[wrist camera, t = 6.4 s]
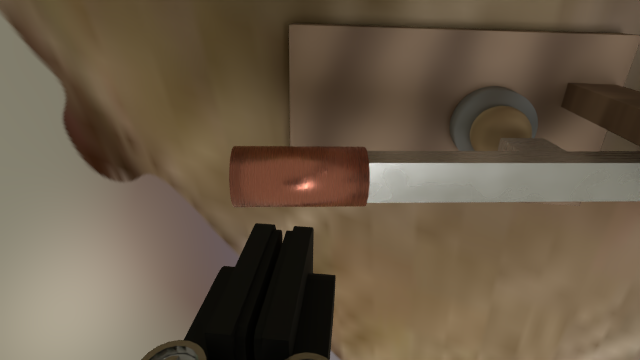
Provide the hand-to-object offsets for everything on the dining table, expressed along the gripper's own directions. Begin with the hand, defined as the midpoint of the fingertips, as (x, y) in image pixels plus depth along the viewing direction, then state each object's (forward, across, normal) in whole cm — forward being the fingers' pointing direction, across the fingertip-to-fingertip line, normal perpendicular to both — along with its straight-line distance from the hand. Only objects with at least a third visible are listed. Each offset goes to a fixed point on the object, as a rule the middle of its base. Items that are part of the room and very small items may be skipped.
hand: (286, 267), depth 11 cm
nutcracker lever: (+11, -7, 0) cm, 13 cm away
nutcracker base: (+20, -8, 0) cm, 21 cm away
